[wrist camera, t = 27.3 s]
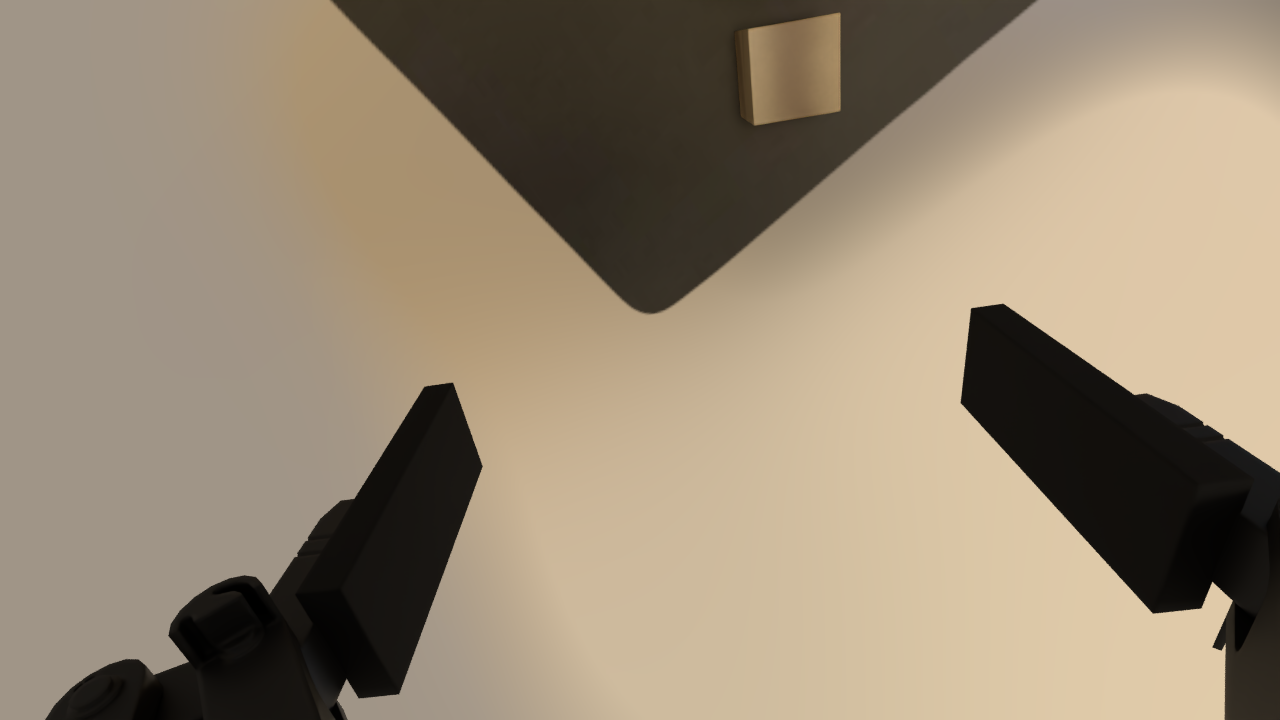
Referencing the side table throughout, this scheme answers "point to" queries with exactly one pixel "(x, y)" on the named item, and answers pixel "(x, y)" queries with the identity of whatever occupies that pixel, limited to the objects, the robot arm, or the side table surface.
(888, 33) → the side table surface
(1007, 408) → the robot arm
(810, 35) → the birch block
